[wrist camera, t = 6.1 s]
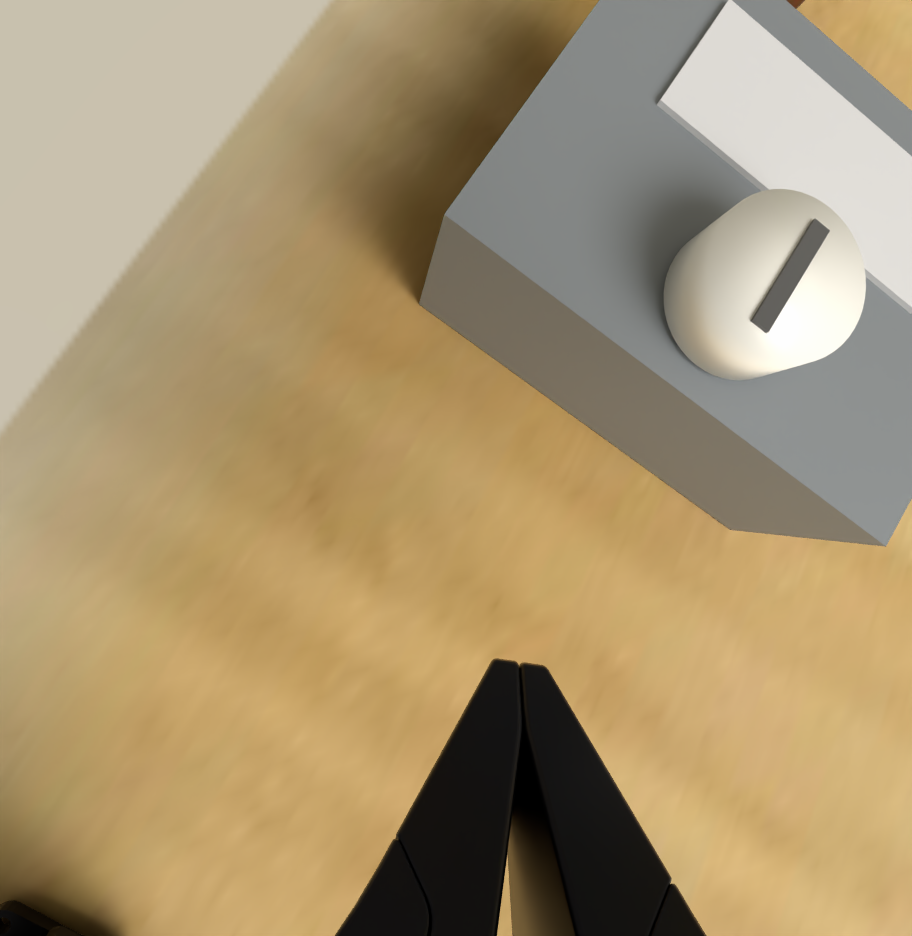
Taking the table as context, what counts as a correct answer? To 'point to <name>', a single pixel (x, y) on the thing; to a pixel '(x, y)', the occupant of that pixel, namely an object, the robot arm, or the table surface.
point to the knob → (765, 287)
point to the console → (669, 228)
